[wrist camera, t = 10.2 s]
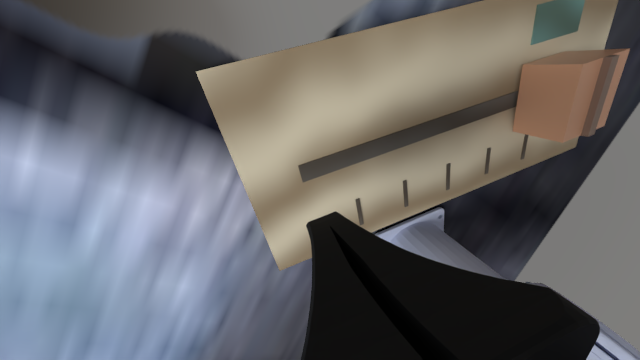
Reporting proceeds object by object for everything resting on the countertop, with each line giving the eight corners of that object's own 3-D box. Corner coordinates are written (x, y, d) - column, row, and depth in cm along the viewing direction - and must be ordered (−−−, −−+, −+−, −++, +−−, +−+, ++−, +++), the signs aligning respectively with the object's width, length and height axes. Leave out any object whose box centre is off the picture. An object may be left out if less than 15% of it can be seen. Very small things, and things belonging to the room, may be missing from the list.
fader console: (542, 139, 27) (576, 147, 24) (273, 245, 21) (280, 271, 18) (577, -23, 20) (630, -37, 17) (201, 70, 15) (195, 71, 12)
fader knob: (549, 117, 21) (611, 127, 17) (512, 131, 20) (569, 144, 17) (564, 51, 18) (639, 48, 15) (522, 64, 18) (591, 64, 14)
